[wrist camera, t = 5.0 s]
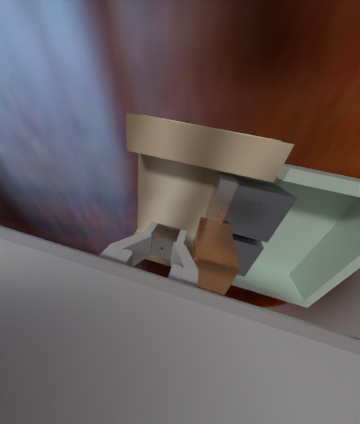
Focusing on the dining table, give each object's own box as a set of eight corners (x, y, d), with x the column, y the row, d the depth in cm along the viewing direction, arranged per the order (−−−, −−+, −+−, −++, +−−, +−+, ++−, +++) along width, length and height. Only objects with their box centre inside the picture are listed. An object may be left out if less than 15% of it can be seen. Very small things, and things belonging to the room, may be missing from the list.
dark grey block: (217, 213, 14) (218, 229, 11) (231, 175, 12) (237, 184, 9) (256, 222, 13) (267, 242, 11) (277, 185, 11) (297, 198, 9)
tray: (222, 254, 18) (224, 282, 14) (266, 160, 12) (290, 168, 8) (287, 273, 17) (307, 307, 13) (371, 181, 11) (446, 200, 7)
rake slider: (190, 244, 16) (177, 308, 10) (212, 169, 12) (212, 202, 5) (210, 249, 16) (209, 319, 10) (239, 176, 11) (272, 217, 5)
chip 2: (205, 245, 16) (204, 265, 14) (215, 217, 14) (216, 235, 12) (239, 254, 16) (244, 276, 13) (254, 227, 14) (263, 247, 11)
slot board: (140, 240, 19) (129, 255, 17) (144, 116, 12) (125, 109, 9) (218, 262, 18) (219, 282, 16) (276, 140, 11) (296, 140, 8)
